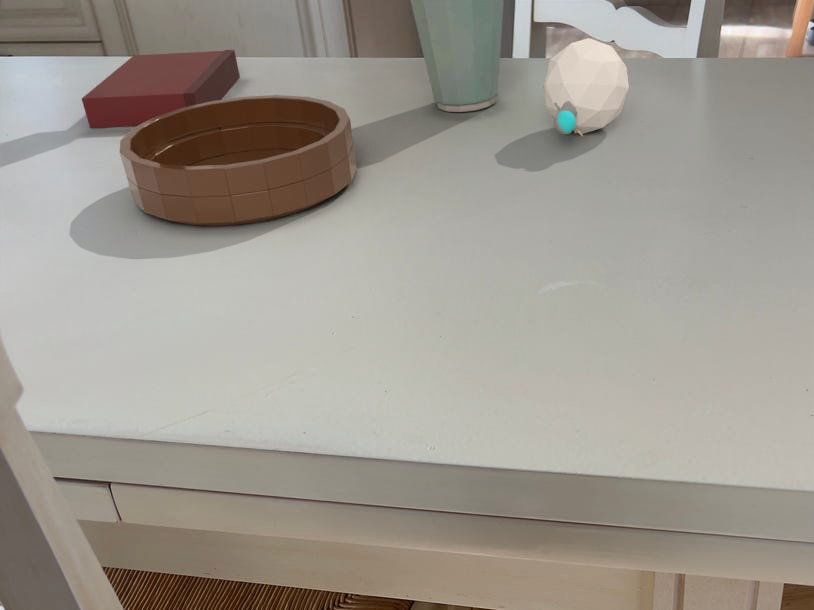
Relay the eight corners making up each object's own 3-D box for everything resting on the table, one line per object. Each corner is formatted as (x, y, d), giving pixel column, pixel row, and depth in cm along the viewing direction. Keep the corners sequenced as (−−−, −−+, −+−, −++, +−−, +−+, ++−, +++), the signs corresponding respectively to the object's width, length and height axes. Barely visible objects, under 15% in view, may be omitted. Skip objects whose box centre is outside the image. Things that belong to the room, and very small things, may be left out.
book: (89, 128, 108) (80, 98, 106) (140, 82, 122) (133, 54, 120) (200, 123, 107) (193, 92, 105) (240, 77, 120) (234, 49, 118)
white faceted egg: (652, 77, 97) (628, 134, 90) (585, 125, 102) (557, 183, 95) (605, 6, 94) (575, 59, 86) (538, 59, 99) (505, 114, 91)
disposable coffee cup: (468, 125, 101) (457, -47, 91) (392, 109, 107) (373, -55, 97) (534, 97, 107) (530, -68, 97) (459, 83, 113) (447, -74, 103)
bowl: (104, 234, 85) (85, 174, 82) (173, 154, 100) (160, 100, 97) (336, 225, 83) (326, 164, 80) (371, 145, 98) (364, 90, 95)
